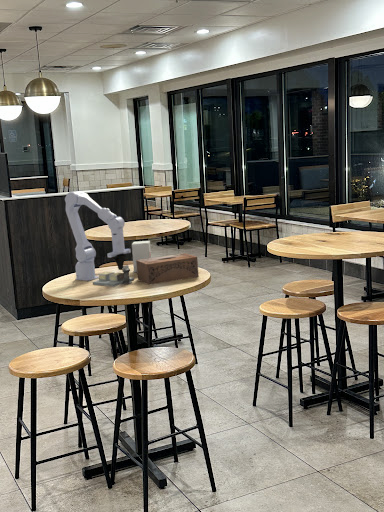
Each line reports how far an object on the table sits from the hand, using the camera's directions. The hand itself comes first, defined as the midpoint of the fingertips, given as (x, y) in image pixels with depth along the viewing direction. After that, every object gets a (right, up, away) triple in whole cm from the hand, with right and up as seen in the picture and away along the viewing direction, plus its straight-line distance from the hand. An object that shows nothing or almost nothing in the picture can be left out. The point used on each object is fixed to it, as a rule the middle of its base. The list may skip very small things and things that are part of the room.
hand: (120, 269), depth 312 cm
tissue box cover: (+23, -5, -4) cm, 24 cm away
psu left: (-6, -5, -2) cm, 8 cm away
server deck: (-1, -6, -6) cm, 8 cm away
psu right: (-1, -5, -7) cm, 8 cm away
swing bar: (+3, 0, -4) cm, 5 cm away
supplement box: (+9, -1, +21) cm, 23 cm away
